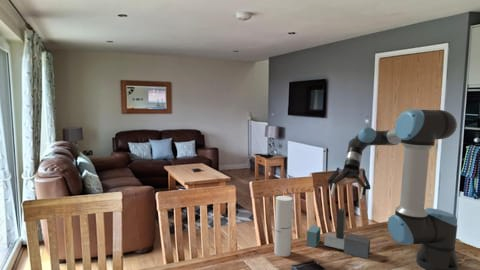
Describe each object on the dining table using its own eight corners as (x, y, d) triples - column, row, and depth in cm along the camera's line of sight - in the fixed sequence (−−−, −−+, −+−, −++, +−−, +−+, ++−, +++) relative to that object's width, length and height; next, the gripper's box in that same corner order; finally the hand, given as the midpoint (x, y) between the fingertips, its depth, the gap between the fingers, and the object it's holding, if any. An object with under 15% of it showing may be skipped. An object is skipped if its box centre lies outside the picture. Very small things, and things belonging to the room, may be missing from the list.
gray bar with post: (366, 250, 144) (369, 213, 143) (365, 254, 140) (367, 216, 139) (326, 241, 153) (328, 206, 151) (324, 245, 149) (325, 208, 147)
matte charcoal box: (369, 252, 145) (370, 237, 144) (367, 258, 139) (368, 243, 138) (346, 247, 150) (347, 232, 149) (343, 253, 144) (344, 238, 143)
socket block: (320, 240, 156) (320, 227, 156) (315, 247, 149) (316, 232, 148) (311, 239, 158) (312, 225, 158) (306, 245, 151) (307, 231, 150)
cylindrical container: (290, 257, 139) (292, 201, 137) (273, 255, 141) (275, 199, 138) (290, 250, 146) (292, 196, 144) (275, 248, 148) (276, 195, 145)
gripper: (378, 169, 163) (373, 206, 152) (329, 164, 175) (321, 198, 163) (378, 160, 158) (373, 198, 146) (327, 155, 170) (318, 190, 158)
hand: (345, 198), depth 155 cm, fingers open, 13 cm apart
